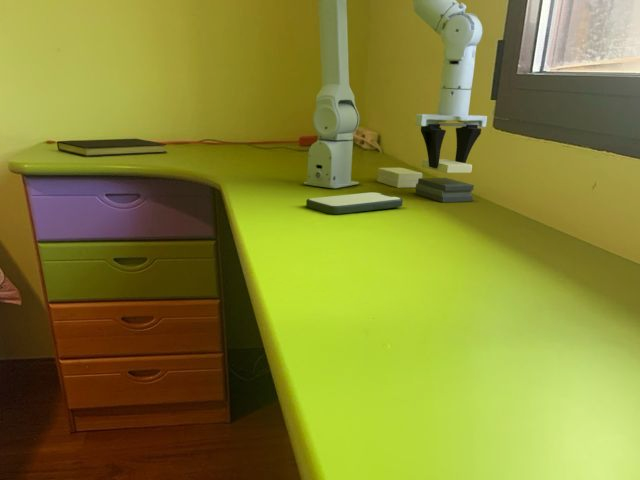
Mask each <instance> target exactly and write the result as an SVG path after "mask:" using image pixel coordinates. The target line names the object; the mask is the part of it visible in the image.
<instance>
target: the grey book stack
mask: <svg viewBox="0 0 640 480" xmlns="http://www.w3.org/2000/svg"><path fill="white" fill-rule="evenodd" d="M474 186H475V184H472V183H468V182H464V181H460V180H456V179H453V178H448V177H422V178H419V179H418V183H417V184H416V187H415V195H418V196H420V197H424V198H427V199H430V200H434V201H437V202H439V203H461V202H464V203H465V202H473V198H474V196H473V195H472V191H474Z"/></svg>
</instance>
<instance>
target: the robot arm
mask: <svg viewBox="0 0 640 480" xmlns="http://www.w3.org/2000/svg"><path fill="white" fill-rule="evenodd" d="M317 3H318V4H317V6H318V7H317V8H318V24H319V25H318V26H319V47H320V48H319V49H320V50H319V51H320V69H321V70H320V71H321V88H320V90H319V92H318V93H317V95H316V97H315V109H314V112H313V114H312V126H313V129H314V131H315V133H316V134H317V140H316V141H315V142H313V143H312V144H311V145H310V147H309V149H308V152H307V172H306V173H307V174H306V181H304V182H303V185H306V186H314V187H320V188H321V187H322V188H327V189H339V188H345V187H351V186H356V185H357V186H358V185H359V184H360V183H359V181H353V180H352V166H353V148H354V147H353V146H354V133H355V132H356V131H357V129H358V127H359V124H360V113H359V111H358V109H357V106H356V101H355V100H356V99H355V98H356V97H355V94H354V92H353V91H352V89H351V86H350V72H349V71H350V70H349V39H348V38H349V37H348V10H347V9H348V6H347V5H348V2H347V0H317ZM412 3H413V4H412V5H413V11H414V13H415V14H416V15H417V16H418V17H419V18H420V19H422V20H423V21H424V22H425V23H426V24H427V25H428V26H429V27H430V28H431V29H432V30H433V31H434V32H436V34H438V35H439V36H440V38H441V41H442V43H443V45H444V49H443V50H444V52H443V60H442V67H441V75H440V85H439V86H440V87H439V93H438V94H439V95H438V102H437V113H416V116H415V124H414V125H415V126H417V127H420V132H421V135H422V138H423V140H424V144H425V148H426V152H427V159H428V161H429V167H432V168H437V167H438V163H439V159H441V150H442V145H443V141H444V138H445V135H446V132H447V131H446V129H442V127H455V134H456V136H455V137H456V150H455V159H454V161H457V162H462V163H466V164H467V160H468V157H469V155H470V153H471V150H472V148H473V147H474V145H475V143H476V141H477V139H478V138H479V137H480V136H481V134H482V128H487V123H488V122H487V121H488V116H487V115H478V114H469V113H470V112H469V111H470V103H471V95H472V88H473V80H474V73H475V64H476V54H477V46H478V45H479V43H480V42H481V40H482V36H483V24H482V22H481V20H480V19H479V18H478V16H477V15H476V14H475V13H471V12H466V9H467V5H466V4H465V3H464V2H460V3H459V2H458V0H412ZM447 121H449V122H447Z"/></svg>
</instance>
